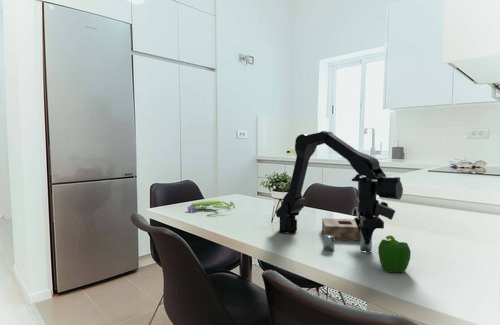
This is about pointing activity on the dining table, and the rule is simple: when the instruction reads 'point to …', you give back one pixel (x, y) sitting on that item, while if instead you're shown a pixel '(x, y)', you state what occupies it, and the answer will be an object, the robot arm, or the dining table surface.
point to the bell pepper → (394, 255)
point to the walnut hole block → (341, 229)
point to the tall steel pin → (363, 246)
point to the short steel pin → (328, 242)
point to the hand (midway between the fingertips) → (365, 242)
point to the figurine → (210, 202)
